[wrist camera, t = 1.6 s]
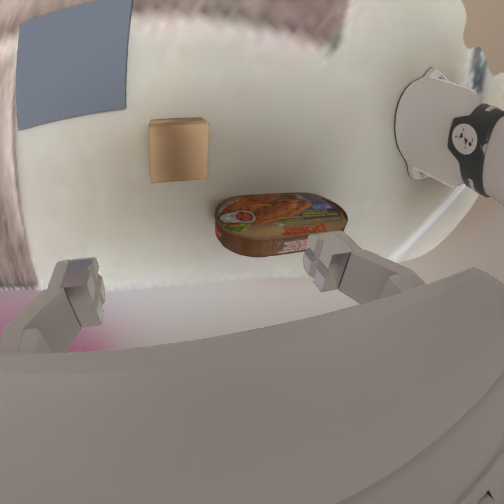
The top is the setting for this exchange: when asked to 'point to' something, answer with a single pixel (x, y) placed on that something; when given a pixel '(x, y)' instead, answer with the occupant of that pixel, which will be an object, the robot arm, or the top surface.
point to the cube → (178, 149)
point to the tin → (275, 222)
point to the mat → (72, 62)
